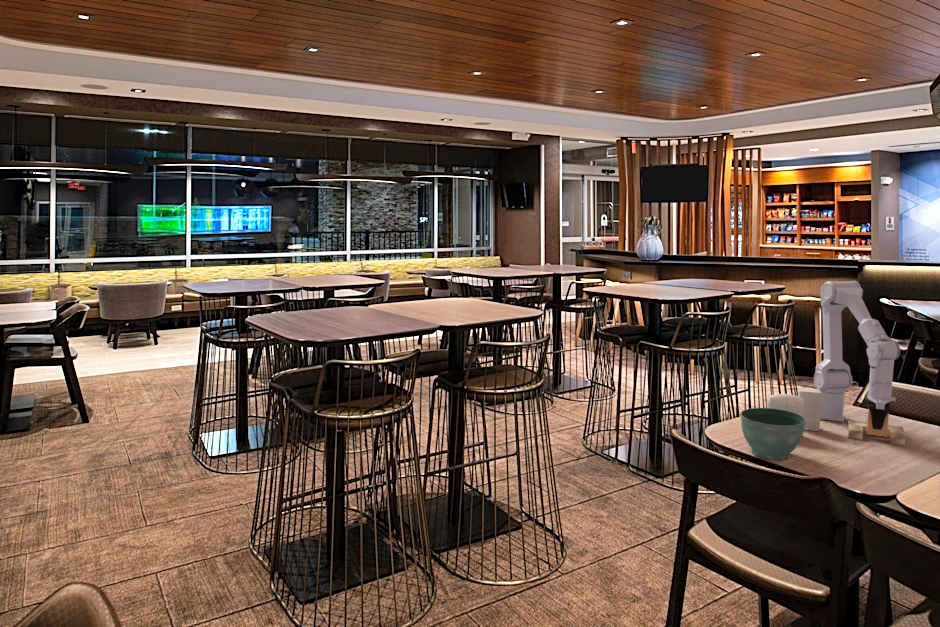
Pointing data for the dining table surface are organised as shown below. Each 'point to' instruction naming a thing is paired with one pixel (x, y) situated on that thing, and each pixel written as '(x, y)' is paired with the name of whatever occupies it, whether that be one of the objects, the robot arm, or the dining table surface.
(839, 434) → the dining table surface
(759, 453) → the green bowl
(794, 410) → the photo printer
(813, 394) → the skincare box
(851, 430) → the notched board
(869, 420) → the orange brown rectangular block
